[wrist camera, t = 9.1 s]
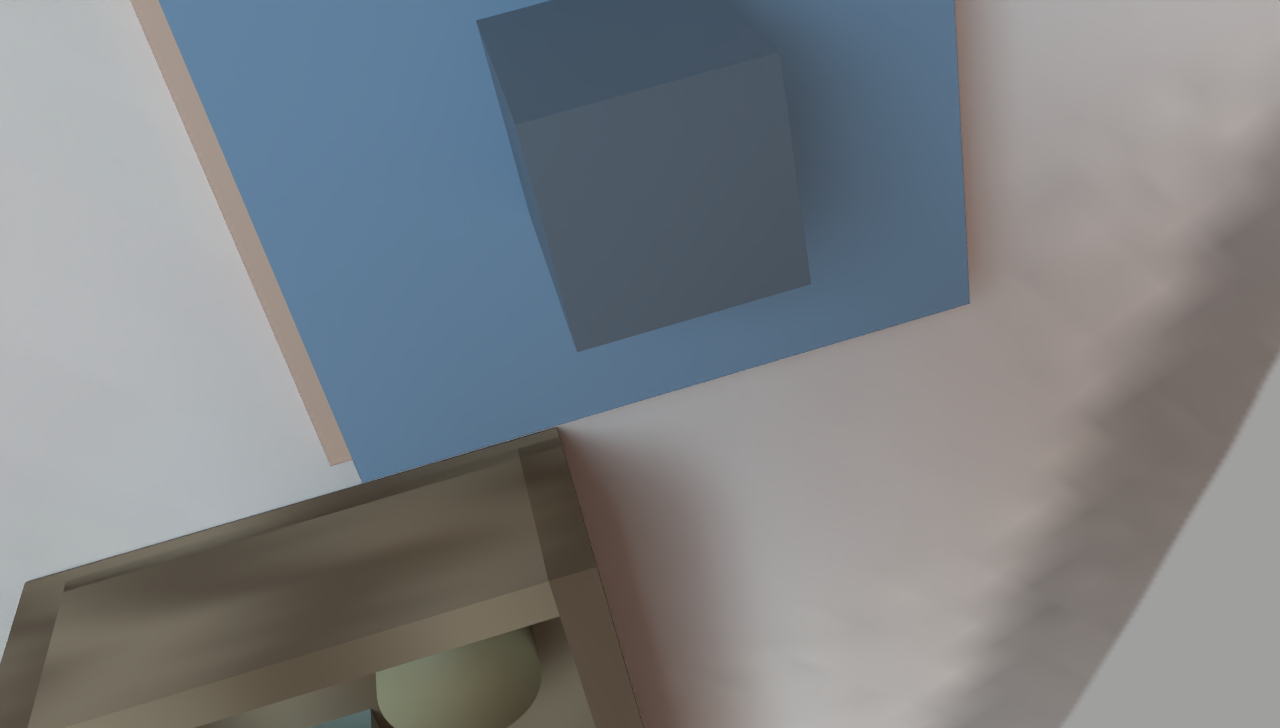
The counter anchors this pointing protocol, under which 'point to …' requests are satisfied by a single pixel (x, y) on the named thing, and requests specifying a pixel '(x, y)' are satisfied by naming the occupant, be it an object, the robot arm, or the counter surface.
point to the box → (341, 614)
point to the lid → (580, 194)
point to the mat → (240, 225)
